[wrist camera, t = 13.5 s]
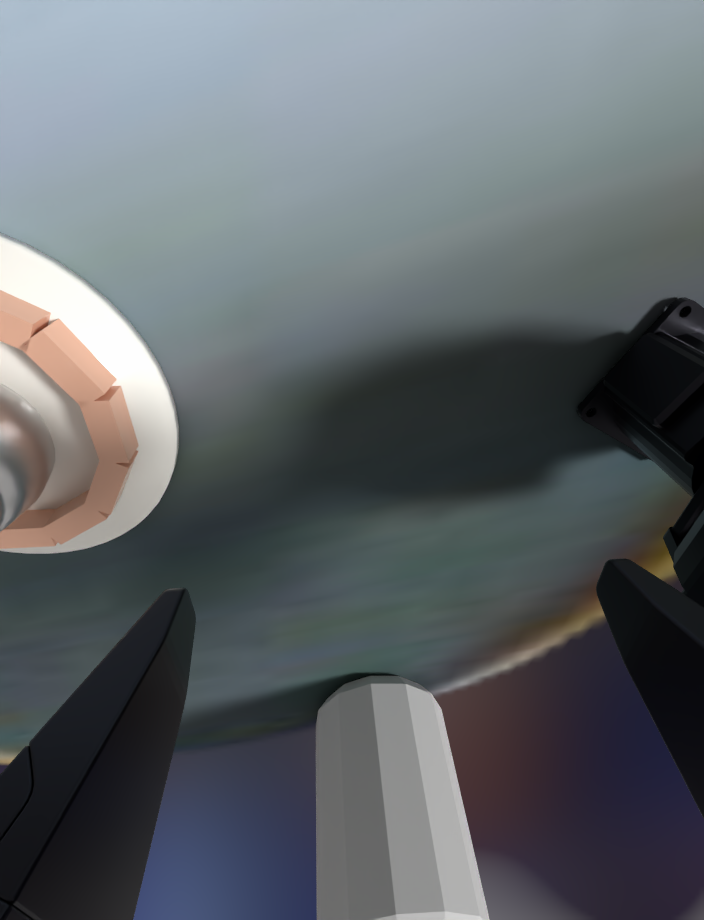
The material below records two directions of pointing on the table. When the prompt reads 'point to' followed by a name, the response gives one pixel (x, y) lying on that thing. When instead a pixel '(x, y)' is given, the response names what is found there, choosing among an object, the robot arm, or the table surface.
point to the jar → (390, 809)
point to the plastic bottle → (22, 455)
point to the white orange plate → (83, 405)
